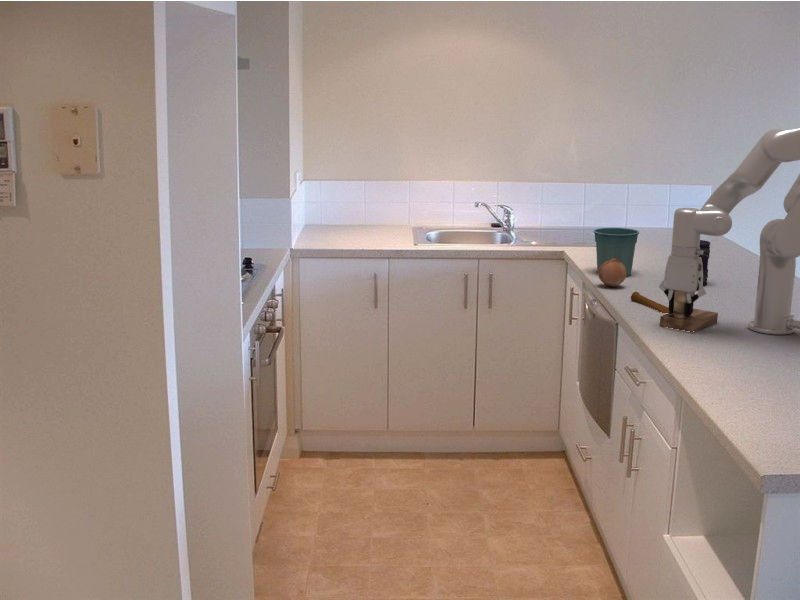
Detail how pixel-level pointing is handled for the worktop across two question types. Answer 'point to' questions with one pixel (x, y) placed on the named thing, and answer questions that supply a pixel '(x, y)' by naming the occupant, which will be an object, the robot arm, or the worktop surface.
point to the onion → (612, 272)
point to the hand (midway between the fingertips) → (680, 313)
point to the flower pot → (616, 246)
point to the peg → (679, 304)
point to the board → (690, 320)
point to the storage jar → (705, 259)
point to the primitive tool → (649, 302)
